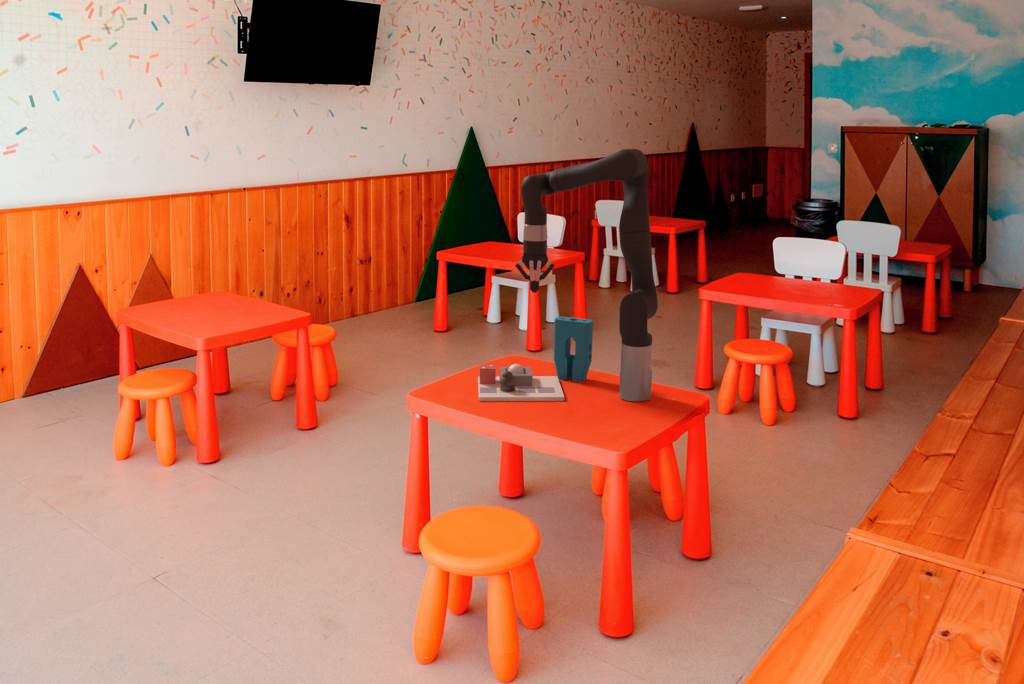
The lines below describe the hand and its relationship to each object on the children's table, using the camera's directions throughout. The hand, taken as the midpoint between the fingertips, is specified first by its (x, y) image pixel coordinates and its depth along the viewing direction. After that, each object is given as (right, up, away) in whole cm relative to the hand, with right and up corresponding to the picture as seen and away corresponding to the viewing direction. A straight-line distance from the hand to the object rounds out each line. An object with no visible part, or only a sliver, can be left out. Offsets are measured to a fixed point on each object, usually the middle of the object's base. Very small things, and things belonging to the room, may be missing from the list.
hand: (534, 292), depth 291 cm
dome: (-6, -28, 0) cm, 29 cm away
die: (-15, -29, -1) cm, 32 cm away
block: (+13, -28, +8) cm, 32 cm away
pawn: (-9, -31, -9) cm, 33 cm away
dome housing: (-6, -29, 0) cm, 29 cm away
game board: (-5, -31, -5) cm, 32 cm away
